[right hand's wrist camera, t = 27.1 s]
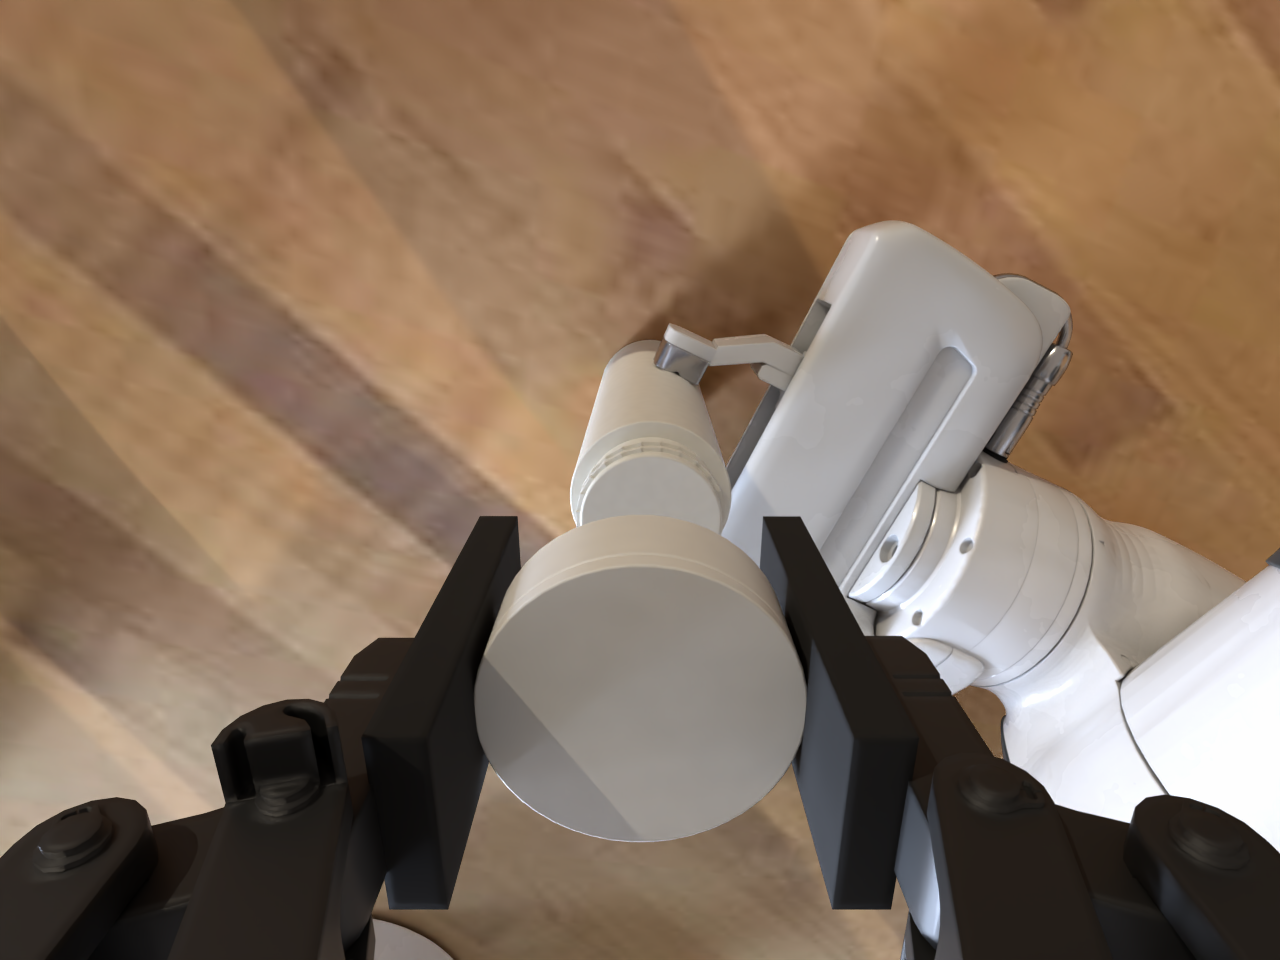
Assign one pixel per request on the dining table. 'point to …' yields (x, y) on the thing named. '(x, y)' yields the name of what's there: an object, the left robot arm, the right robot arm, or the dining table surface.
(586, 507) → the white cylinder
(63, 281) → the dining table surface
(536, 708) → the white round canister
